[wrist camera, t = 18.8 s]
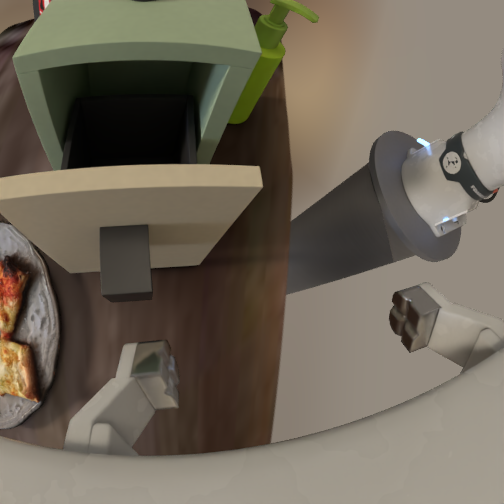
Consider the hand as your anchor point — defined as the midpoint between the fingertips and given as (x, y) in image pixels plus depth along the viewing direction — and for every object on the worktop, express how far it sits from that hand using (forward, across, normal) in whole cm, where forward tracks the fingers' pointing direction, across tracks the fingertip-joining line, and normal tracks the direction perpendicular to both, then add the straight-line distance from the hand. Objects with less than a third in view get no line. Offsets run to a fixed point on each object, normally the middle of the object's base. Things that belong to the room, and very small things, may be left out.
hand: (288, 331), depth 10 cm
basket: (+22, +11, +2) cm, 24 cm away
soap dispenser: (+38, -2, -8) cm, 39 cm away
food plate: (+13, +32, +6) cm, 35 cm away
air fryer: (+30, +11, -5) cm, 32 cm away
